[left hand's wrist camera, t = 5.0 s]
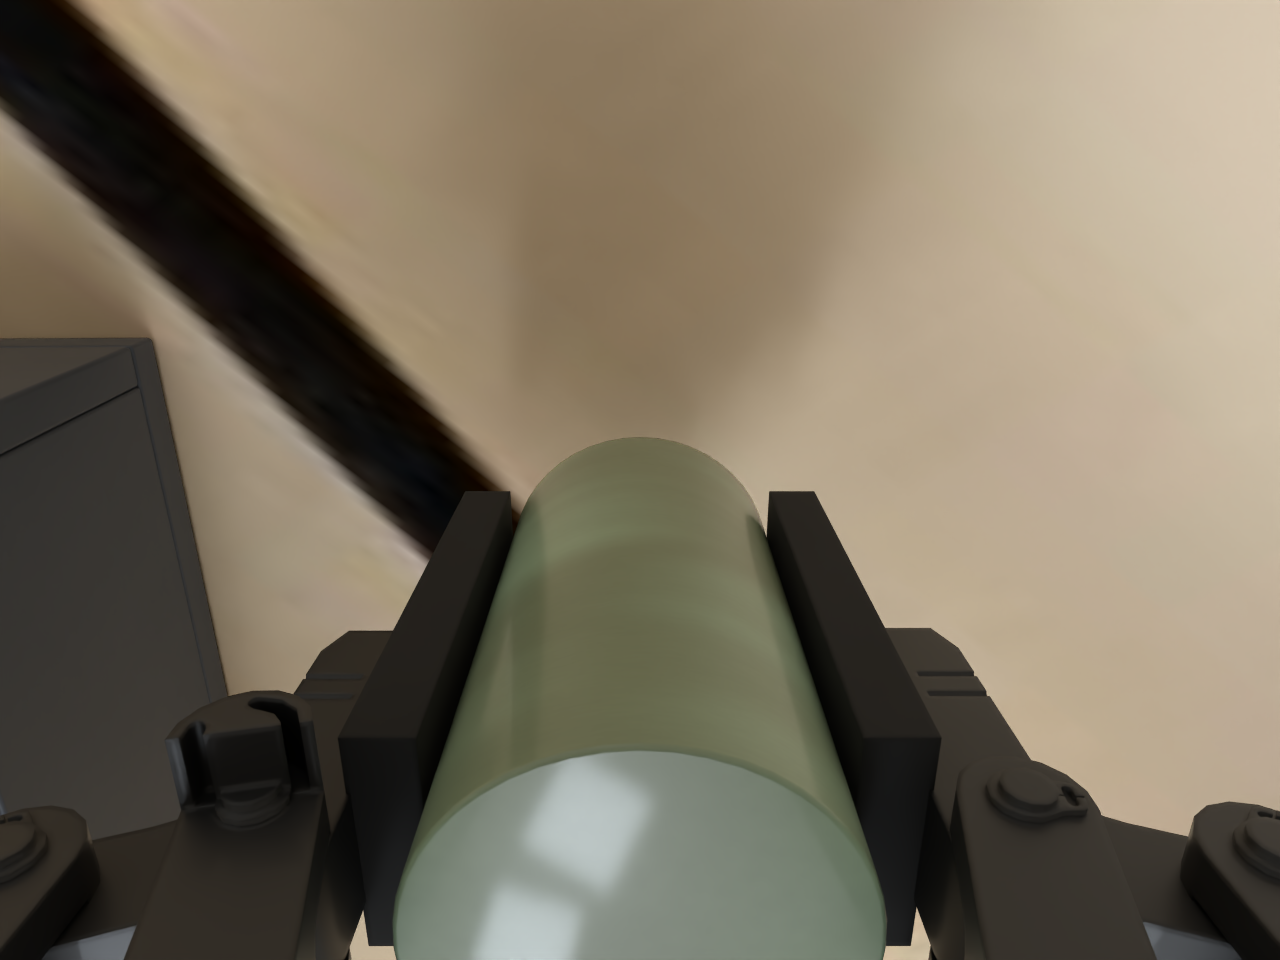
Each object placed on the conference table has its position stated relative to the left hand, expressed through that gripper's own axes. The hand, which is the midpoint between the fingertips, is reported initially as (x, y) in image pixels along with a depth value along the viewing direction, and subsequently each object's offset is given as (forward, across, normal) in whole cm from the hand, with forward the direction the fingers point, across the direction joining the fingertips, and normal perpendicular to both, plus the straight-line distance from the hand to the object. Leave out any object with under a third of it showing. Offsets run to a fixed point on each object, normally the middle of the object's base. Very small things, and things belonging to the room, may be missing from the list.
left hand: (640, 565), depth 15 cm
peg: (0, 0, 0) cm, 0 cm away
